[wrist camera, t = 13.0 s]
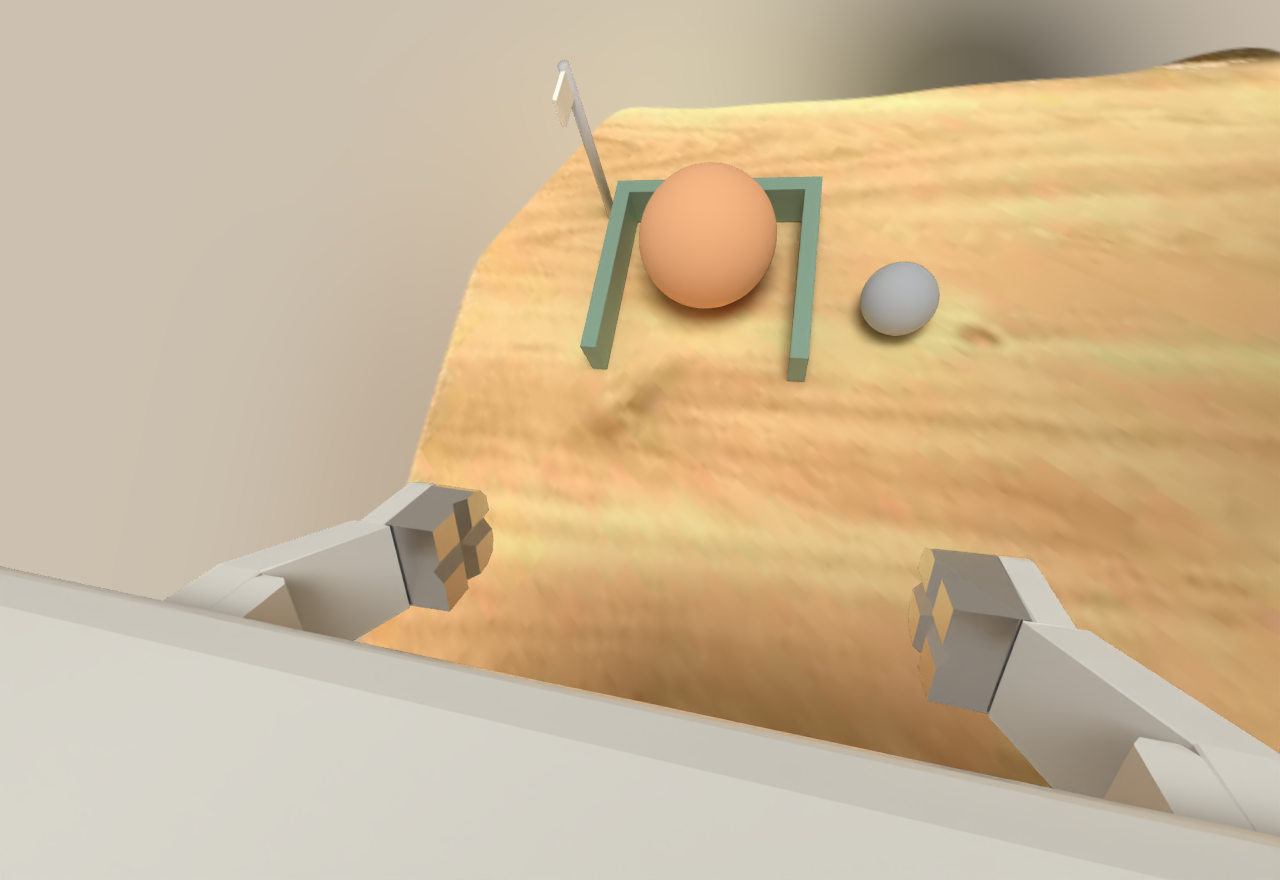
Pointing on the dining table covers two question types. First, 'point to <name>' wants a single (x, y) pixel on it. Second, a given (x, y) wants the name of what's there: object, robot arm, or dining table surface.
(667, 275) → the ball
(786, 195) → the green u-shaped frame
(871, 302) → the grey ball
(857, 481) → the dining table surface
